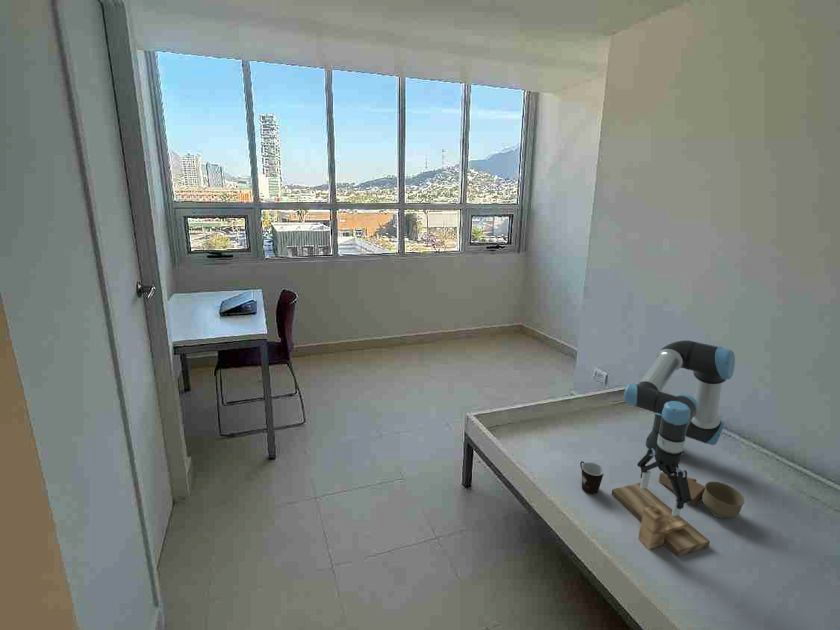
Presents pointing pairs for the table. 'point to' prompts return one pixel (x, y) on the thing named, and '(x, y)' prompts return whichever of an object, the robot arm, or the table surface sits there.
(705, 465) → the table surface
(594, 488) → the coffee mug
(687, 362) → the robot arm
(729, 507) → the bowl
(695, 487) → the brown wooden blocks
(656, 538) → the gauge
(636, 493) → the board
